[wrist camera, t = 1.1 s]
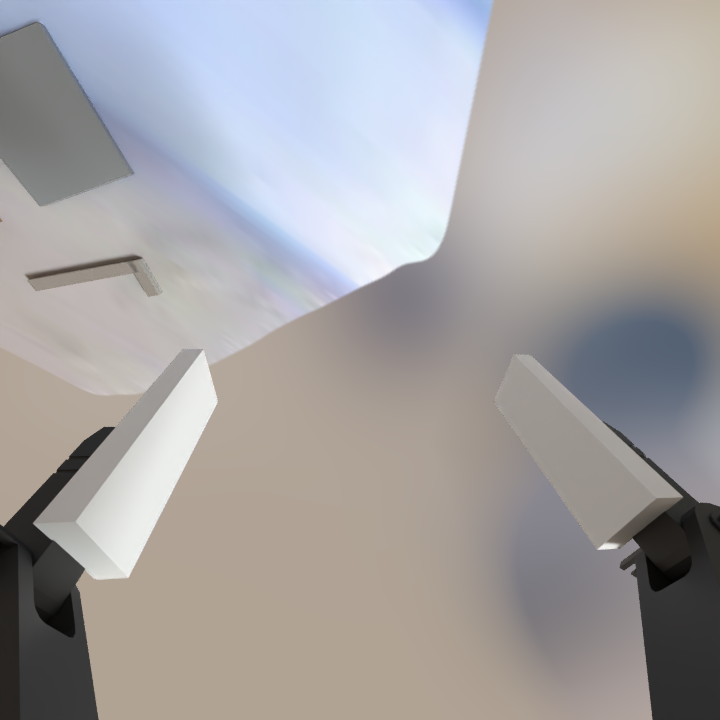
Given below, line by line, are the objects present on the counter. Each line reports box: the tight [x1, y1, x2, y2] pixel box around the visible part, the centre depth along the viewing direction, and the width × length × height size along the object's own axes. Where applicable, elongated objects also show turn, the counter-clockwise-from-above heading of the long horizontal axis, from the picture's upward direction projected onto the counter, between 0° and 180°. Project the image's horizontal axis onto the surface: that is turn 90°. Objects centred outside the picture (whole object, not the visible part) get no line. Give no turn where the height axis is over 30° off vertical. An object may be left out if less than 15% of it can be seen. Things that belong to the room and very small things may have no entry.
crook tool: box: [28, 258, 162, 297], centre depth 32 cm, size 4×13×1 cm, turn 99°
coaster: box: [0, 22, 134, 206], centre depth 25 cm, size 10×10×1 cm
